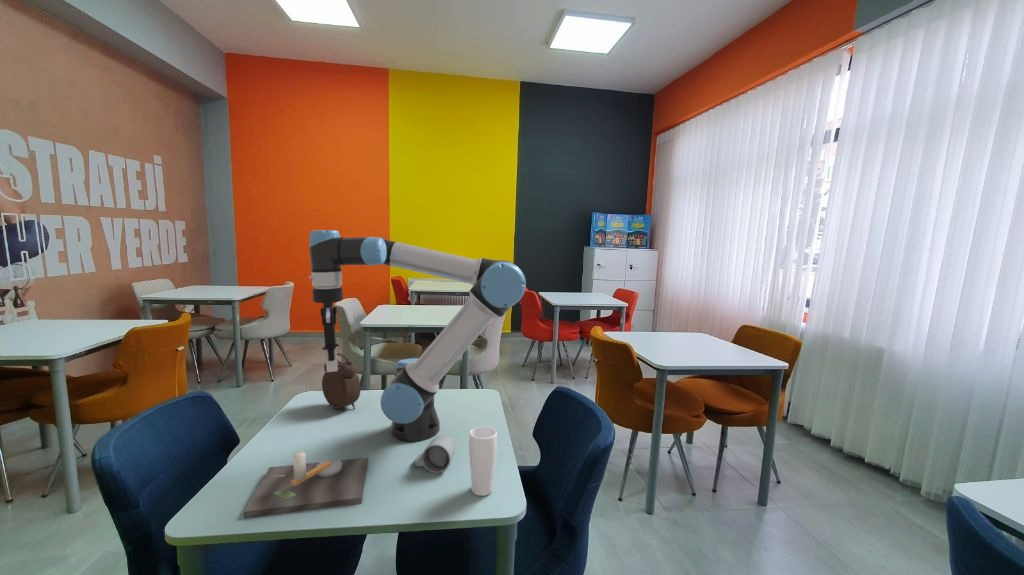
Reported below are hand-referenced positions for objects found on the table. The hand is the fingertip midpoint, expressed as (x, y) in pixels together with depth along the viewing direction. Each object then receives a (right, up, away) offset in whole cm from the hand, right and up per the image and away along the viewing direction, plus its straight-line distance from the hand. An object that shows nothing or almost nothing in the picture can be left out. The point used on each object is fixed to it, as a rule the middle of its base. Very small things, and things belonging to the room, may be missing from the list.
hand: (332, 370), depth 116 cm
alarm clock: (-10, -20, +32) cm, 40 cm away
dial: (+2, -24, -13) cm, 27 cm away
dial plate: (+2, -25, -15) cm, 29 cm away
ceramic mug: (+29, -25, -3) cm, 39 cm away
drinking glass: (+43, -27, -14) cm, 53 cm away
